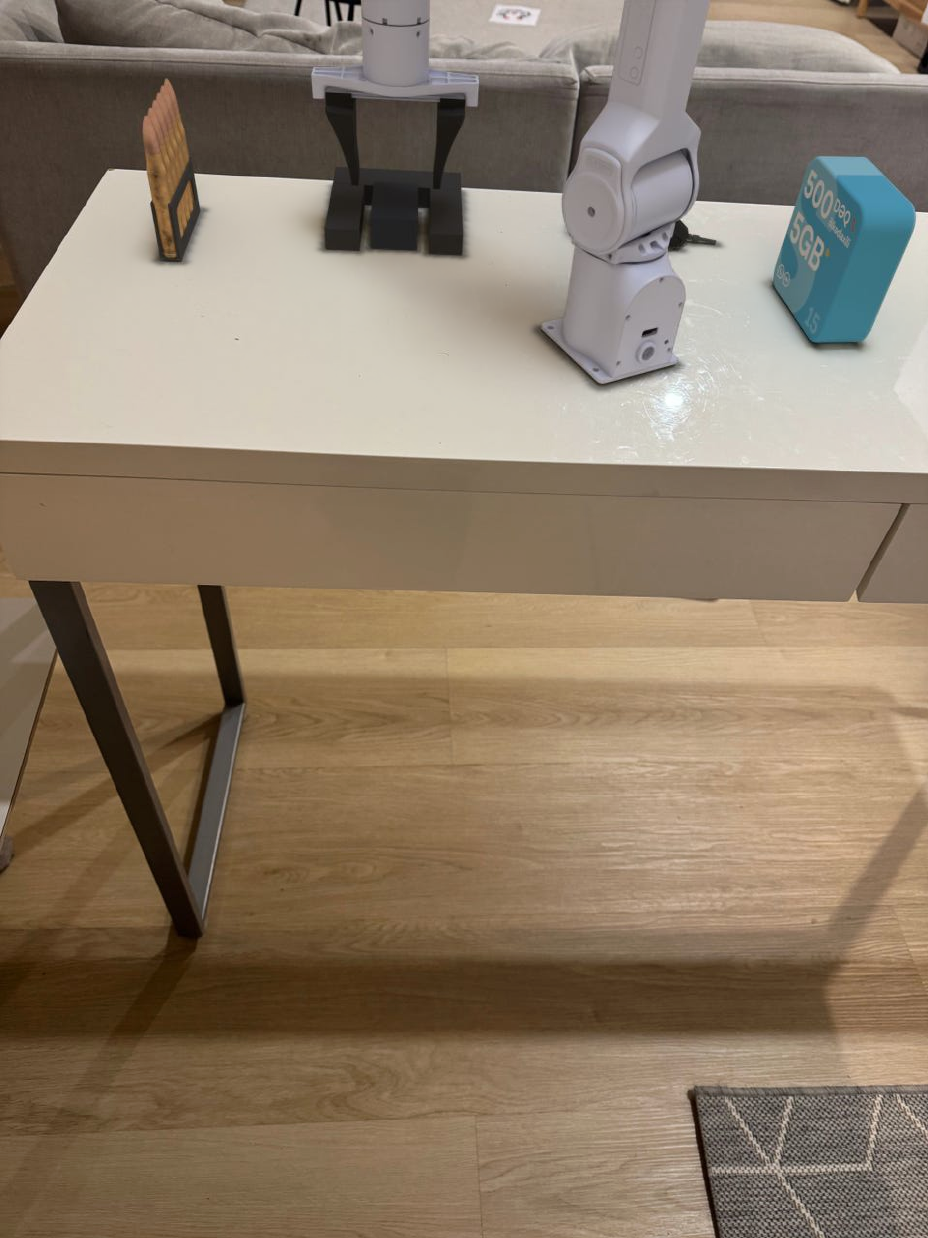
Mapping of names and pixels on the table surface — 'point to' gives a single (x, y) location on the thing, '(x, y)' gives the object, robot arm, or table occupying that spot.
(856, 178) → the data package
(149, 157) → the ammunition clip
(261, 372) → the table surface
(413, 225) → the black rectangular block
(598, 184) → the robot arm
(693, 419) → the table surface
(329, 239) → the black flat u-shaped piece
